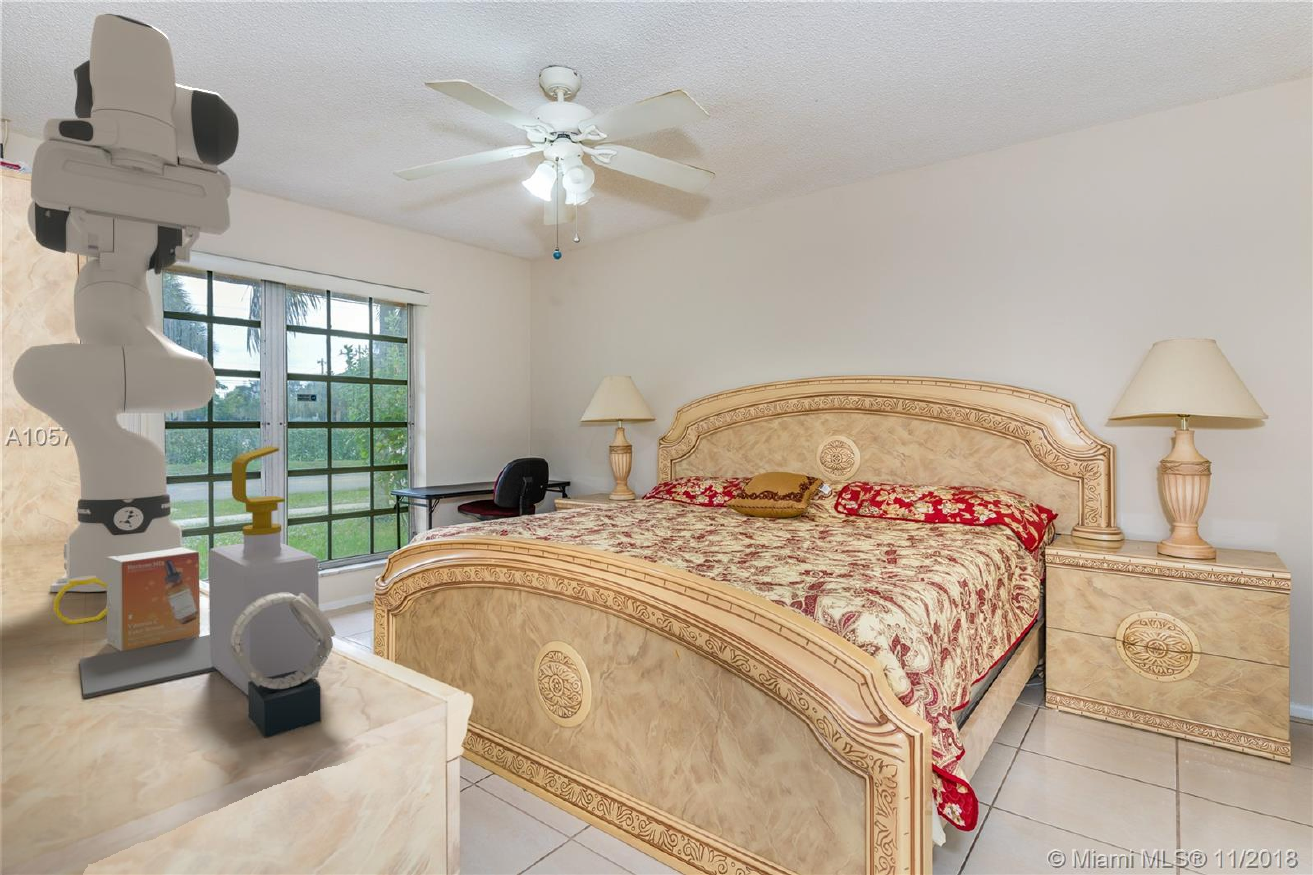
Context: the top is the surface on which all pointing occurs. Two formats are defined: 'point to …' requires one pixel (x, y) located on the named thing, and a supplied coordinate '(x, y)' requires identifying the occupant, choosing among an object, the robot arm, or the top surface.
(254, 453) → the soap bottle
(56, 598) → the watch
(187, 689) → the top surface
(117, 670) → the mat
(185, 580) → the small box
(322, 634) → the watch
